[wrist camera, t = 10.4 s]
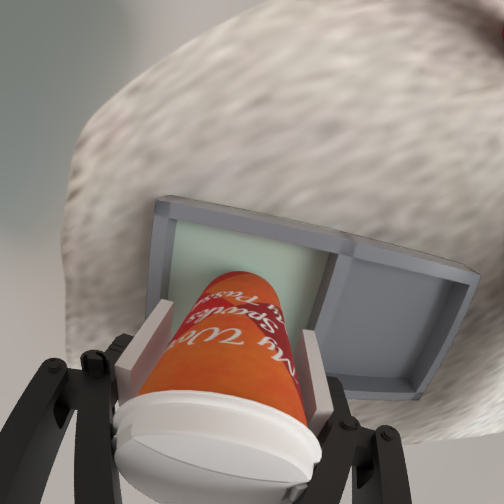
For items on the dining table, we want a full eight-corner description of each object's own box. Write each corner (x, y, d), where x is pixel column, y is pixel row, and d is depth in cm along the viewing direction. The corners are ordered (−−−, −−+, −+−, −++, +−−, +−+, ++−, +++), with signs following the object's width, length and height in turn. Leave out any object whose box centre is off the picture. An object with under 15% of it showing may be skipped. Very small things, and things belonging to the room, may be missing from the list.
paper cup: (302, 260, 19) (358, 432, 6) (287, 355, 22) (299, 526, 8) (185, 250, 20) (65, 391, 6) (186, 344, 22) (123, 501, 8)
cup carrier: (463, 264, 21) (481, 275, 18) (408, 382, 25) (418, 400, 22) (169, 195, 20) (156, 199, 18) (155, 343, 24) (144, 362, 22)
